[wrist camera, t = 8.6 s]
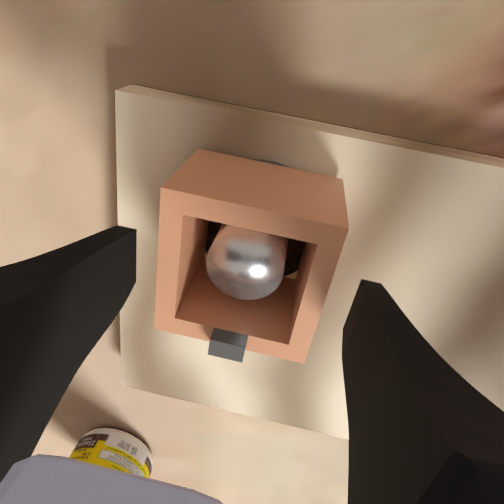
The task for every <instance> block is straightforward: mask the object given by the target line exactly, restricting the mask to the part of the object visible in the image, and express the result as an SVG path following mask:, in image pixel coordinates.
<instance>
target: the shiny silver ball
mask: <svg viewBox="0 0 504 504" xmlns="http://www.w3.org/2000/svg"><path fill="white" fill-rule="evenodd" d="M251 160H255V161H260V162H265V163H270V164H274V165H279V166H284V167H287V166H285V165H282V164H280V163H277V162H273V161H269V160H262V159H251ZM288 168H289V167H288ZM304 246H305V241H300V240H296V239H291V238H286V237H282V236H277V235H273V234H268V233H264V232H259V231H255V230H250V229H246V228H241V227H236V226H232V225H227V224H223V223H218V222H214V221H209V223H208V231H207V239H206V248H205V250H206V252H207V253H208V254H207V258H206V269H207V273H208V275H209V277H210V279H211V281H212V282H213V283H214V285H215V286H216V287H217V288H218V289H220V290H221V291H222V292H224V293H225V294H227V295H229V296H231V297H234V298H238V299H243V300H255V299H260V298H263V297H265V296H267V295H269V294H271V293H272V292H273V291H275V290H276V289H277V287H278V286H279V285H280V283H281V281H282V278H283V276H287V275H289V274H292V273H294V272H296V271H297V270H298V268H299V264H300V261H301V257H302V253H303V250H304Z"/></svg>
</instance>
